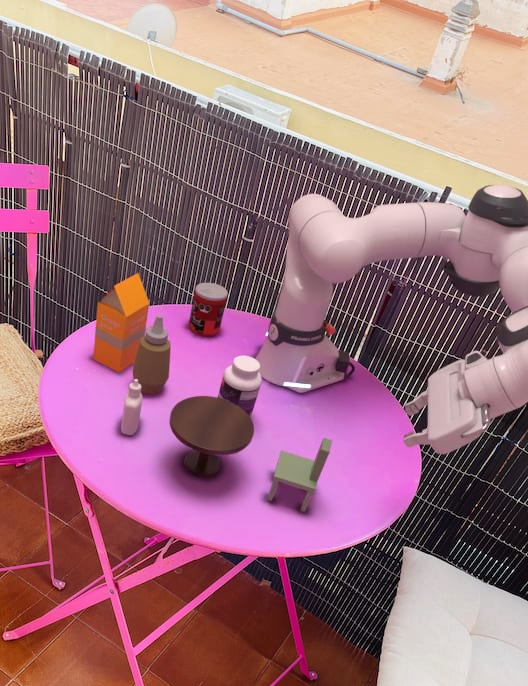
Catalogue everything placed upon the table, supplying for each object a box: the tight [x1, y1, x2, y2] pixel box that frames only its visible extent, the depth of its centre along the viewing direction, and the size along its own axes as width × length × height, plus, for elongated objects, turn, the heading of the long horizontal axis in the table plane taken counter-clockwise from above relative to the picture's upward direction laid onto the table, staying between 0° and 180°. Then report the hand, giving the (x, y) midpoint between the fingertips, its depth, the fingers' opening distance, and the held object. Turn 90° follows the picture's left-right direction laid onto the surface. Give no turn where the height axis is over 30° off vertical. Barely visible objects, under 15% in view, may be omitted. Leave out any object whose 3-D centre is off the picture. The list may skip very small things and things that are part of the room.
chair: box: [266, 437, 333, 512], centre depth 129 cm, size 8×8×14 cm
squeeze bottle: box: [132, 314, 172, 396], centre depth 146 cm, size 8×8×18 cm
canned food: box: [188, 282, 228, 338], centre depth 169 cm, size 8×8×11 cm
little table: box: [169, 395, 255, 478], centre depth 132 cm, size 16×16×11 cm
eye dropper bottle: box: [120, 379, 143, 436], centre depth 137 cm, size 4×6×12 cm
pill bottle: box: [217, 355, 263, 419], centre depth 143 cm, size 8×8×14 cm
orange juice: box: [92, 272, 150, 373], centre depth 151 cm, size 8×9×20 cm
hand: (405, 425), depth 117 cm, fingers open, 8 cm apart
